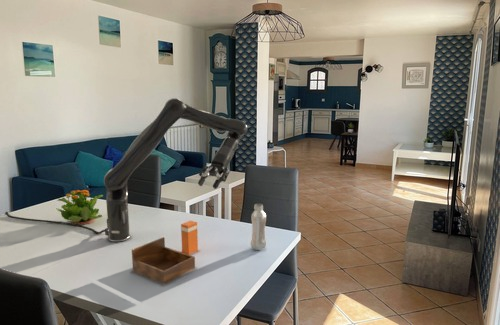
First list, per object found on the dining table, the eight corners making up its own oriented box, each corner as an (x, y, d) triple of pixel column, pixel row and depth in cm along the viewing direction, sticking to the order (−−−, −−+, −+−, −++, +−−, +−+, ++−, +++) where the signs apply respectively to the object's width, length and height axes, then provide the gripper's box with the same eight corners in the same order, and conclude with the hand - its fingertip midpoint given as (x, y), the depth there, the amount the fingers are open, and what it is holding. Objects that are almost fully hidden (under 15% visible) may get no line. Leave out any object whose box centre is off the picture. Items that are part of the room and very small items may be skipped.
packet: (181, 253, 160) (180, 224, 158) (191, 248, 165) (190, 220, 162) (188, 255, 158) (187, 226, 155) (198, 251, 162) (197, 222, 160)
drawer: (132, 271, 143) (131, 249, 142) (164, 257, 156) (163, 237, 154) (164, 285, 133) (163, 261, 132) (195, 268, 146) (194, 247, 144)
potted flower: (117, 220, 202) (115, 188, 199) (77, 233, 182) (74, 199, 179) (89, 212, 215) (86, 182, 212) (48, 224, 196) (45, 192, 193)
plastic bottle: (250, 246, 167) (250, 202, 164) (265, 245, 168) (265, 202, 164) (251, 252, 161) (251, 207, 158) (267, 251, 162) (267, 206, 158)
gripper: (207, 151, 174) (190, 179, 167) (231, 153, 166) (215, 184, 159) (215, 160, 180) (199, 188, 172) (238, 163, 171) (223, 193, 164)
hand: (206, 186), depth 166 cm, fingers open, 8 cm apart
